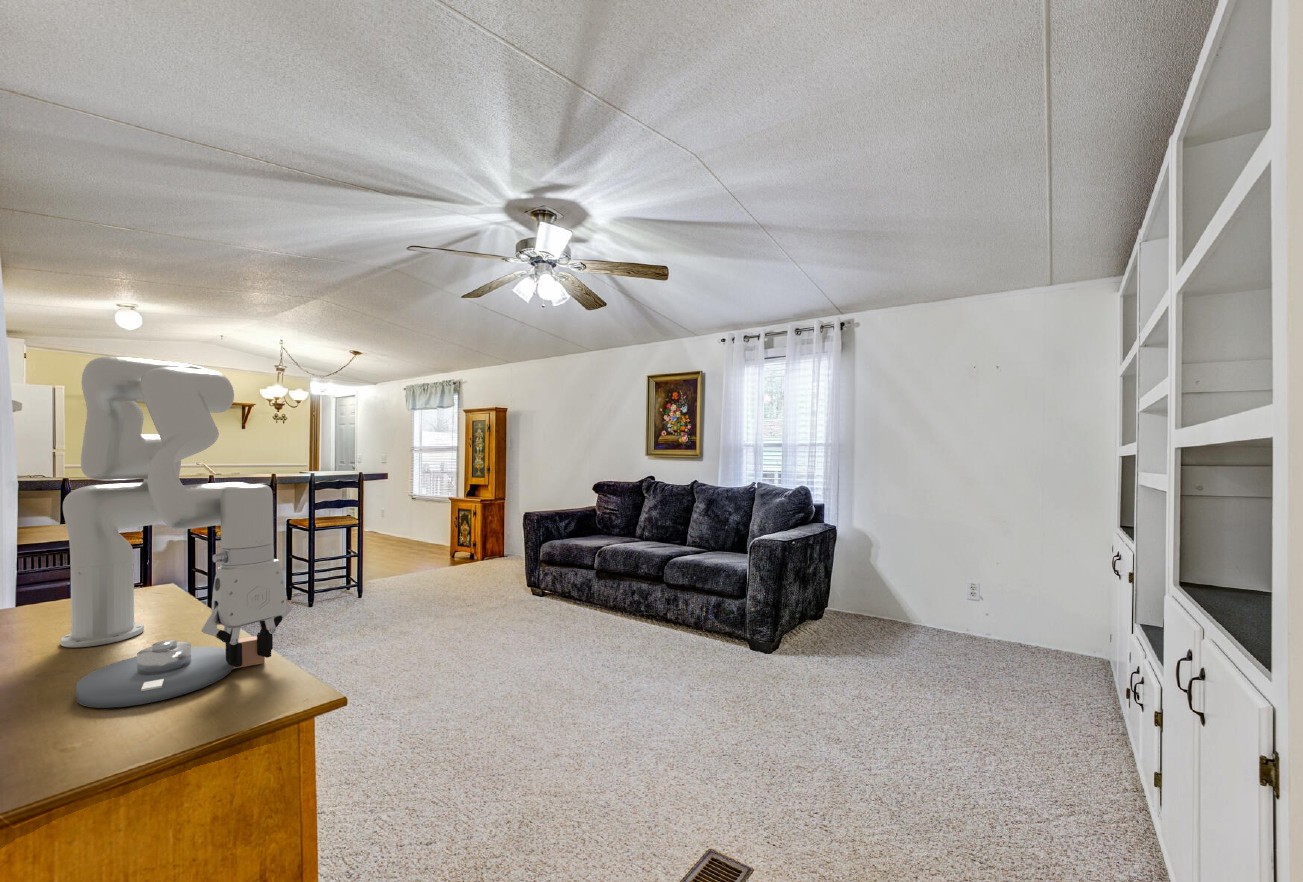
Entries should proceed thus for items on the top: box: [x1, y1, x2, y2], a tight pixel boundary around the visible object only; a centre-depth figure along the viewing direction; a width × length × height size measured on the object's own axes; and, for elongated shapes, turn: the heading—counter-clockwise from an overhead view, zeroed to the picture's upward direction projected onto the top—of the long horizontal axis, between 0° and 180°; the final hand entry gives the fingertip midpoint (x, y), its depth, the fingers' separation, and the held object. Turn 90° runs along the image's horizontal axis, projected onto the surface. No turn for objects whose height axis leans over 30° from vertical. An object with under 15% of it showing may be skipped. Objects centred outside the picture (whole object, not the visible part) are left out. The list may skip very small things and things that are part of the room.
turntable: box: [75, 635, 266, 709], centre depth 99 cm, size 25×20×4 cm
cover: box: [136, 639, 192, 675], centre depth 98 cm, size 7×7×4 cm
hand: (250, 659), depth 102 cm, fingers open, 4 cm apart
